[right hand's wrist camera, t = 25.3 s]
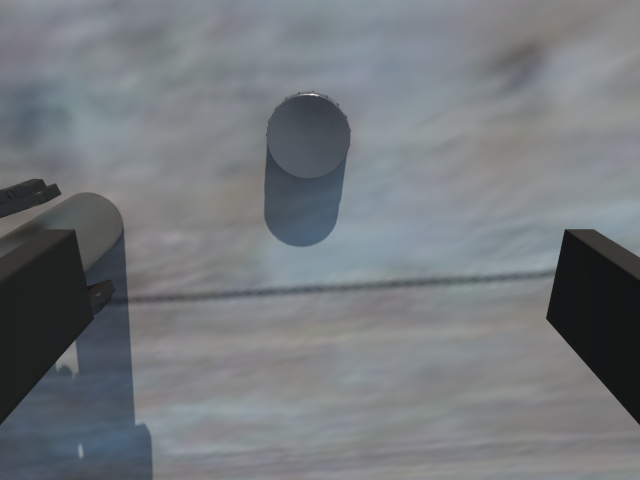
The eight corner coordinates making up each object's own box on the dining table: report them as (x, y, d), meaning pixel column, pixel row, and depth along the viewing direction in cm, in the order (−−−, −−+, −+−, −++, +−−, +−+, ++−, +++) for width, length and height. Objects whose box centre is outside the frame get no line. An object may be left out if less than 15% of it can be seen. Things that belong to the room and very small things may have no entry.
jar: (98, 260, 36) (-51, 404, 21) (48, 220, 34) (-148, 343, 20) (135, 222, 35) (6, 346, 20) (85, 179, 33) (-94, 278, 19)
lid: (344, 85, 31) (346, 87, 29) (353, 168, 33) (355, 173, 32) (261, 97, 31) (258, 99, 30) (275, 178, 33) (274, 184, 32)
